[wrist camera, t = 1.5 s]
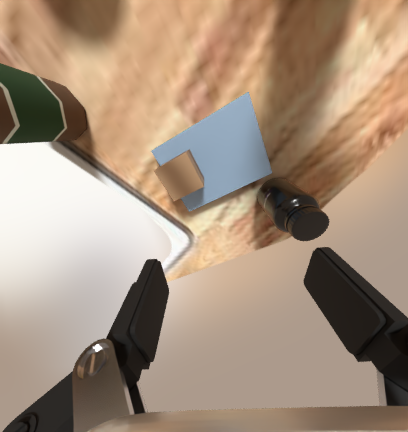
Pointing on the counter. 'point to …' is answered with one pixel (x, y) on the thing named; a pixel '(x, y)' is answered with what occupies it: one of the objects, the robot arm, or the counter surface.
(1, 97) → the beer bottle
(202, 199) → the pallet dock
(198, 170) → the block
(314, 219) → the supplement bottle
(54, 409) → the robot arm
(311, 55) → the counter surface
